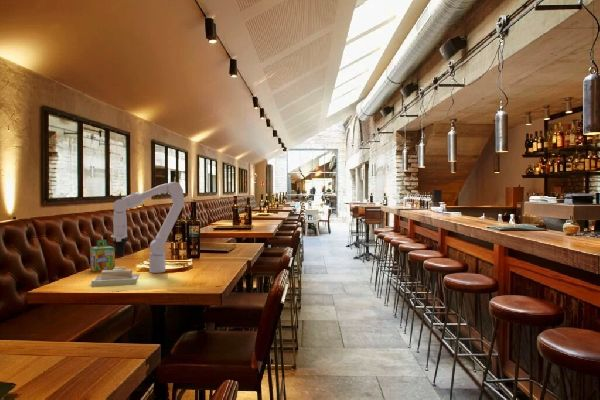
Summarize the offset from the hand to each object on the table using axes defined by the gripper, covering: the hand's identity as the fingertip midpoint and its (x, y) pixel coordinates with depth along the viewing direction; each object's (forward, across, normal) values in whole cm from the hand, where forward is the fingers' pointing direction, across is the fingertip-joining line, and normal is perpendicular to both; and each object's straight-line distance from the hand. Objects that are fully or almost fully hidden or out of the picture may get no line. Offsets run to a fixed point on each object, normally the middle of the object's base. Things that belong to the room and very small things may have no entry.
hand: (120, 255), depth 216 cm
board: (+9, +14, 0) cm, 16 cm away
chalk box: (+10, -16, -10) cm, 21 cm away
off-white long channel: (+8, +22, 0) cm, 24 cm away
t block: (+8, +10, 0) cm, 13 cm away
